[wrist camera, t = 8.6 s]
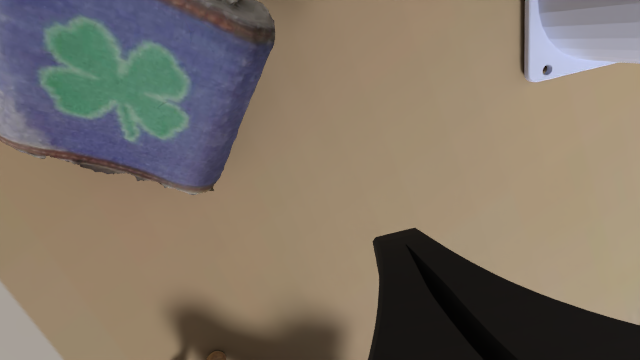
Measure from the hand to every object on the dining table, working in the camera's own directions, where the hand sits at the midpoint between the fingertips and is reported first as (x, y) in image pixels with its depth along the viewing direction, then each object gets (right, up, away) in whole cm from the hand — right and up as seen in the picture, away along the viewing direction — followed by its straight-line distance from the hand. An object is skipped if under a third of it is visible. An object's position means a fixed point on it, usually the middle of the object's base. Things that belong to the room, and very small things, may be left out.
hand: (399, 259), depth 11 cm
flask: (-12, +3, +6) cm, 14 cm away
